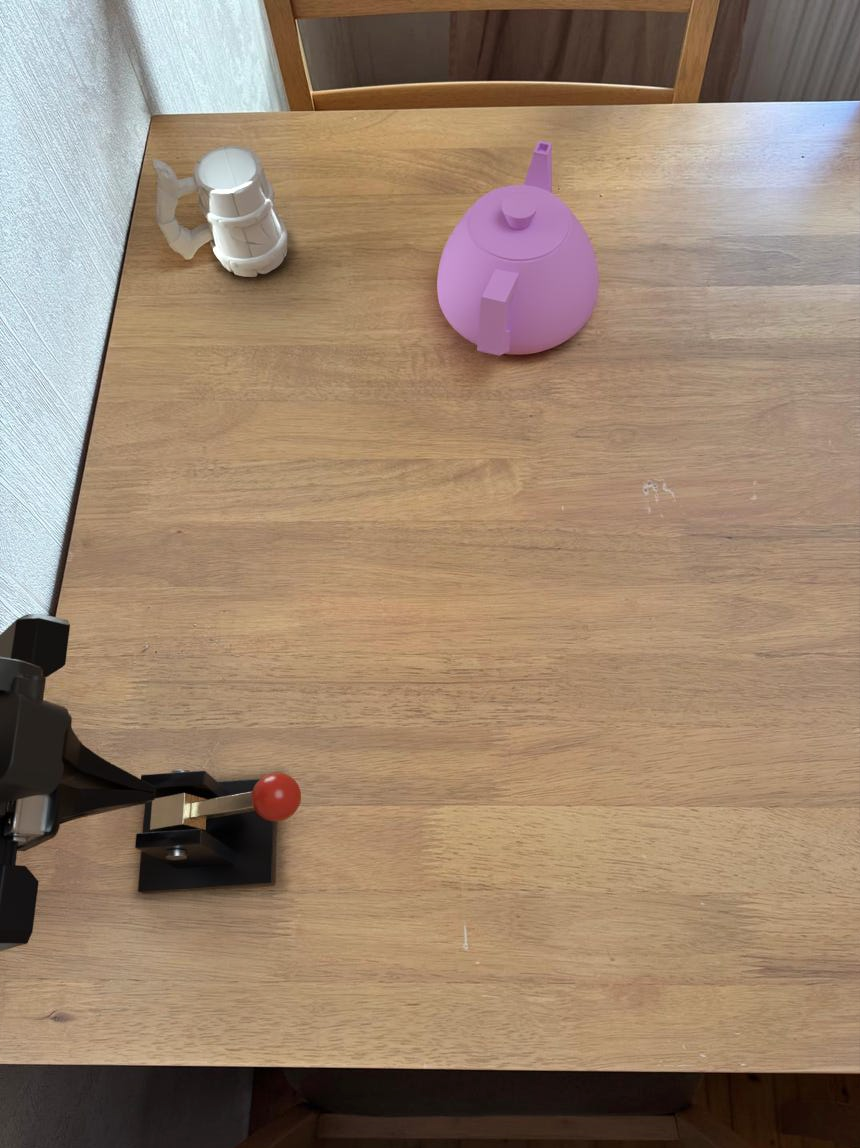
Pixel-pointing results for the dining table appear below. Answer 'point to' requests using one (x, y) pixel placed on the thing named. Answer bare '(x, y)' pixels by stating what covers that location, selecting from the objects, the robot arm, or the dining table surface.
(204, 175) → the mug
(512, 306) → the teapot
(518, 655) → the dining table surface
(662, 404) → the dining table surface
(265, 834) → the switch bracket
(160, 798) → the lever
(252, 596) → the dining table surface
